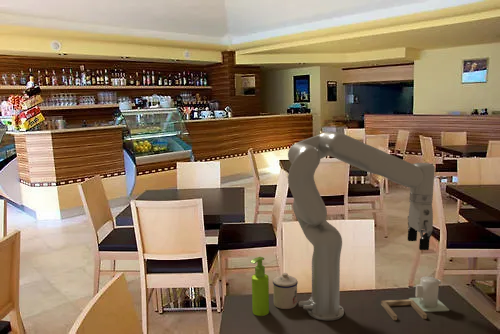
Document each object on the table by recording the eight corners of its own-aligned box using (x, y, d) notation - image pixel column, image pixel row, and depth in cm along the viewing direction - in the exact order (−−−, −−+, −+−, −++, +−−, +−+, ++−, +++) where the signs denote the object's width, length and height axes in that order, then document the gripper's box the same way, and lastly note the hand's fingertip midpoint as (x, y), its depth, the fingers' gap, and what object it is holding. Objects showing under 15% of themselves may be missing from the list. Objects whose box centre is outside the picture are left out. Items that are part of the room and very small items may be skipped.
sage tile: (421, 312, 144) (421, 311, 144) (408, 299, 154) (409, 297, 154) (449, 310, 144) (449, 309, 144) (435, 297, 154) (435, 296, 154)
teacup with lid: (298, 309, 147) (298, 278, 146) (273, 309, 148) (272, 278, 146) (296, 294, 159) (296, 265, 158) (272, 294, 160) (272, 265, 158)
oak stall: (393, 320, 139) (393, 316, 139) (381, 304, 150) (381, 300, 150) (426, 318, 139) (426, 314, 139) (412, 303, 150) (412, 299, 150)
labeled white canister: (442, 307, 146) (444, 283, 144) (419, 308, 146) (420, 284, 144) (434, 299, 152) (436, 276, 150) (412, 300, 152) (413, 277, 150)
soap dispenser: (247, 313, 146) (245, 259, 143) (260, 306, 151) (259, 253, 148) (259, 318, 142) (258, 263, 139) (272, 311, 147) (271, 257, 144)
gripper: (443, 203, 137) (439, 253, 139) (420, 193, 154) (417, 237, 156) (421, 203, 137) (417, 253, 139) (400, 193, 154) (398, 237, 156)
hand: (417, 245), depth 148 cm, fingers open, 9 cm apart
